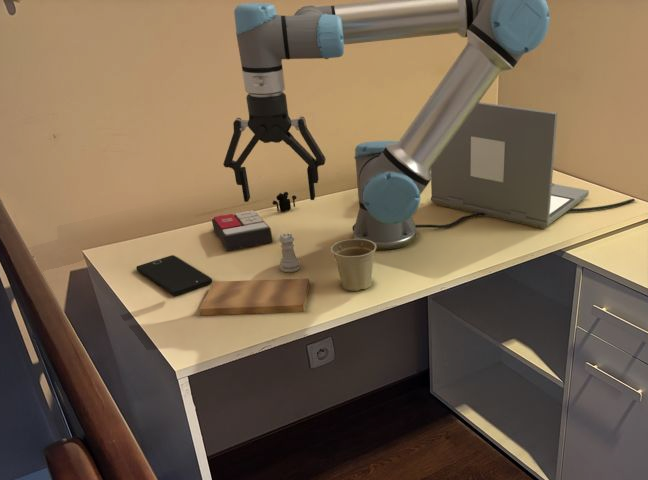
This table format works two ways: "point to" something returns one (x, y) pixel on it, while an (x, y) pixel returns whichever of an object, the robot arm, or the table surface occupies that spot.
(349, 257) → the flower pot
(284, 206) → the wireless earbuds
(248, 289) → the board
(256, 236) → the calculator
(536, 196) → the laptop
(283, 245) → the rook chess piece
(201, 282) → the cell phone
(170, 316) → the table surface
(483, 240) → the table surface
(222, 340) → the table surface
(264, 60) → the robot arm
